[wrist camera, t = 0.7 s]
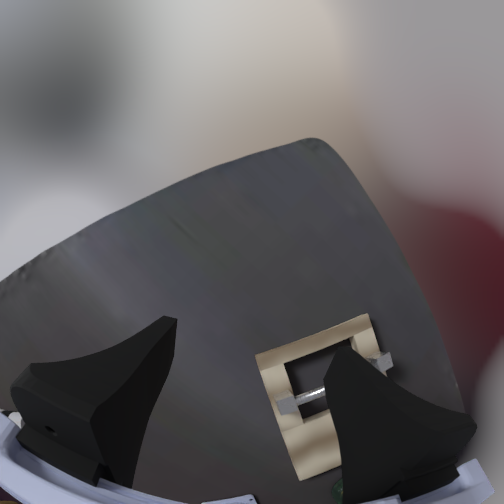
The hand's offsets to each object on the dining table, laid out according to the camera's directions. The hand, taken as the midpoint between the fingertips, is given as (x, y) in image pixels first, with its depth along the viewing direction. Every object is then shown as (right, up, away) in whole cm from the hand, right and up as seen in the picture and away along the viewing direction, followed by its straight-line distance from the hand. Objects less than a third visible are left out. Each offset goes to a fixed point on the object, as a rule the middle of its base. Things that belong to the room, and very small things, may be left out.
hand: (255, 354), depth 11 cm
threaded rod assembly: (+10, -12, +20) cm, 25 cm away
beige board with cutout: (+11, -16, +21) cm, 28 cm away
